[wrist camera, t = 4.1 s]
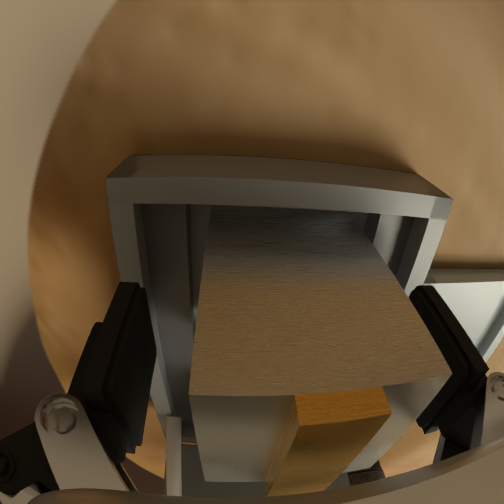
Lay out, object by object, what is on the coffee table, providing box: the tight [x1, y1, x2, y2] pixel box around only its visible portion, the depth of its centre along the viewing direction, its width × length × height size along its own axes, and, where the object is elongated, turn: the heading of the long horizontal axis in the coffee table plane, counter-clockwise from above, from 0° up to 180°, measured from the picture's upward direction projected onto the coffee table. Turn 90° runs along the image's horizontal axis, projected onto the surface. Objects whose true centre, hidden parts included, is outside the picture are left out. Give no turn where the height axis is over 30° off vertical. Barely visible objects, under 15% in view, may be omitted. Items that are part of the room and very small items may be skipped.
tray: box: [423, 269, 504, 363], centre depth 16 cm, size 10×10×1 cm
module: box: [189, 206, 452, 497], centre depth 9 cm, size 5×5×8 cm
